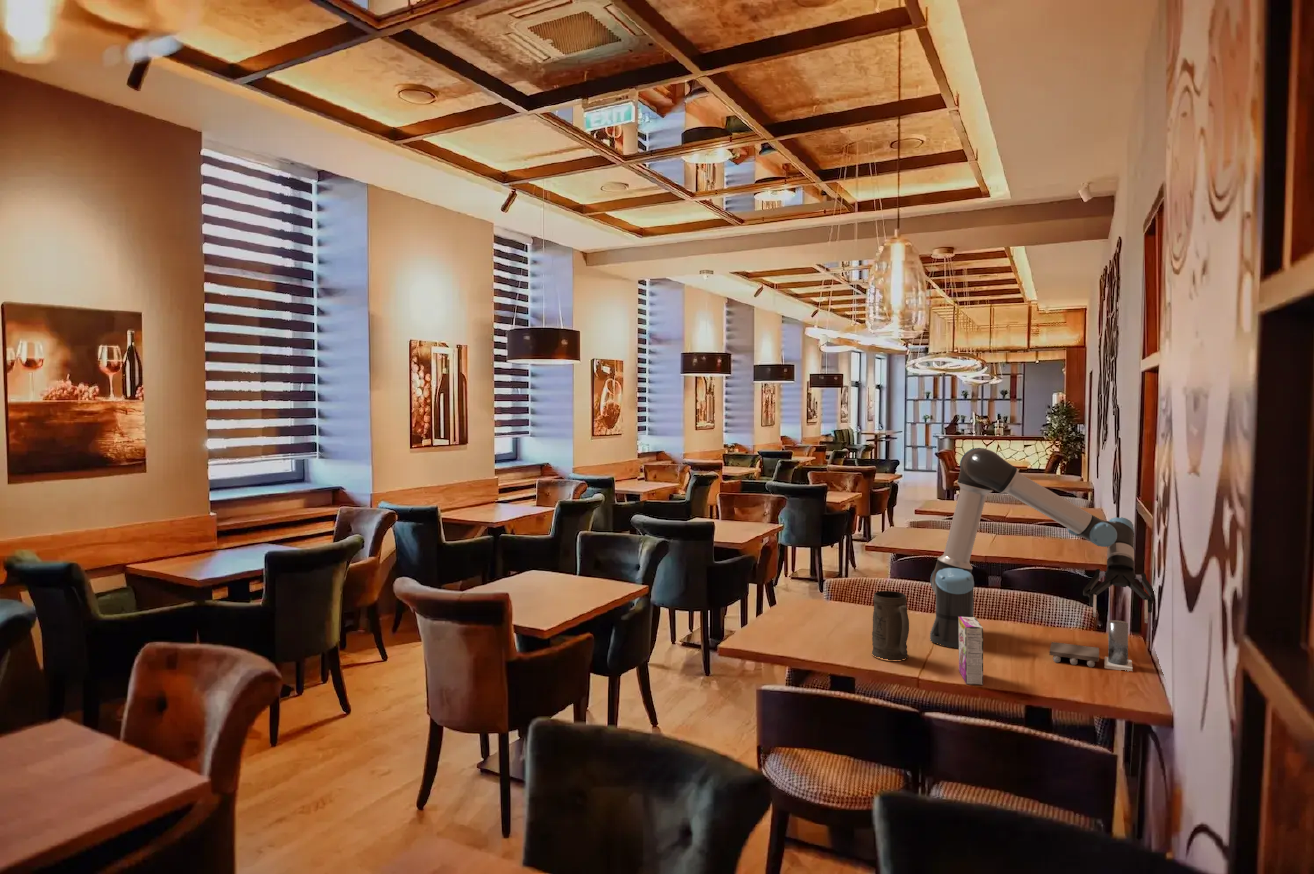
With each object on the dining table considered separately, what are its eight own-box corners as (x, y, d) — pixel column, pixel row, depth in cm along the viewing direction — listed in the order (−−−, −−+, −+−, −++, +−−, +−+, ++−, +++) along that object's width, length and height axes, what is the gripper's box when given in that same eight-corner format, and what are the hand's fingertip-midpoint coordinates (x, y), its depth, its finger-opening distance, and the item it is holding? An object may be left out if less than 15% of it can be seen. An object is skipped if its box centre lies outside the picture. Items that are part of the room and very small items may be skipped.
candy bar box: (957, 671, 226) (957, 615, 226) (975, 672, 225) (975, 616, 225) (964, 684, 215) (965, 626, 215) (983, 685, 214) (984, 627, 214)
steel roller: (1108, 663, 229) (1108, 623, 229) (1108, 658, 234) (1108, 619, 233) (1127, 665, 227) (1128, 625, 226) (1127, 661, 231) (1127, 621, 231)
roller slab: (1049, 661, 234) (1049, 651, 234) (1051, 651, 244) (1051, 641, 244) (1098, 668, 228) (1098, 657, 228) (1099, 658, 237) (1099, 647, 237)
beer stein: (863, 652, 244) (865, 591, 242) (890, 648, 248) (893, 587, 247) (896, 670, 230) (899, 605, 228) (924, 665, 234) (927, 601, 233)
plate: (1104, 668, 228) (1104, 664, 228) (1104, 659, 236) (1104, 656, 236) (1132, 671, 224) (1132, 668, 224) (1131, 663, 232) (1131, 659, 232)
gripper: (1166, 571, 244) (1168, 629, 232) (1076, 563, 257) (1074, 618, 245) (1167, 557, 240) (1169, 616, 227) (1076, 550, 252) (1073, 606, 240)
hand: (1120, 617), depth 236 cm, fingers open, 13 cm apart
